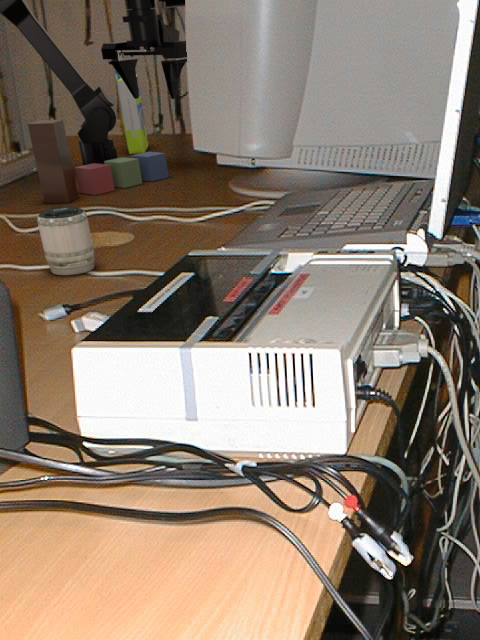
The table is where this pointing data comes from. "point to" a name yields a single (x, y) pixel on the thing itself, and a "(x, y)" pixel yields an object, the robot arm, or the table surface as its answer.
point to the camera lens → (66, 240)
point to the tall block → (53, 161)
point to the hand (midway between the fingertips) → (155, 98)
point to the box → (132, 118)
